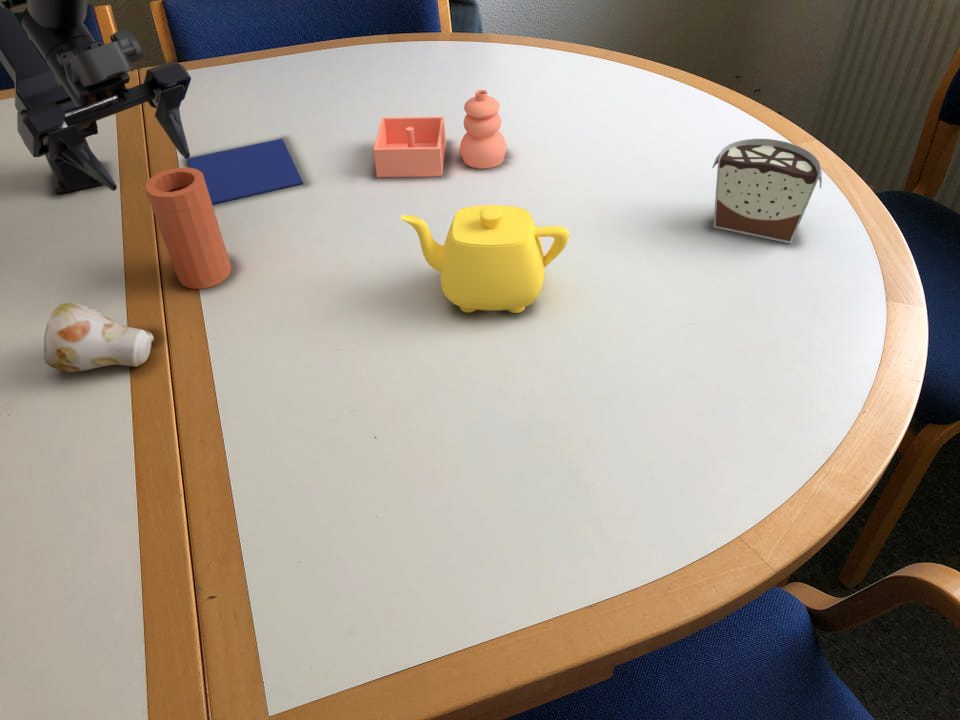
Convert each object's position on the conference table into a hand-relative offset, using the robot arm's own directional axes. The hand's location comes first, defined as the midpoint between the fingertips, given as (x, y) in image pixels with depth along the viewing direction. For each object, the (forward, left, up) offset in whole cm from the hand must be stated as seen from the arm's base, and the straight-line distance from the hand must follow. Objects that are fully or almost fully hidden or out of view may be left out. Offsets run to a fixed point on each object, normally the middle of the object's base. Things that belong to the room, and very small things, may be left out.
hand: (152, 172), depth 90 cm
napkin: (-18, +11, -12) cm, 24 cm away
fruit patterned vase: (+16, -9, -12) cm, 22 cm away
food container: (+23, +68, -12) cm, 73 cm away
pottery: (-9, +38, -12) cm, 40 cm away
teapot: (+22, +32, -12) cm, 40 cm away
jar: (+5, +2, -12) cm, 13 cm away
